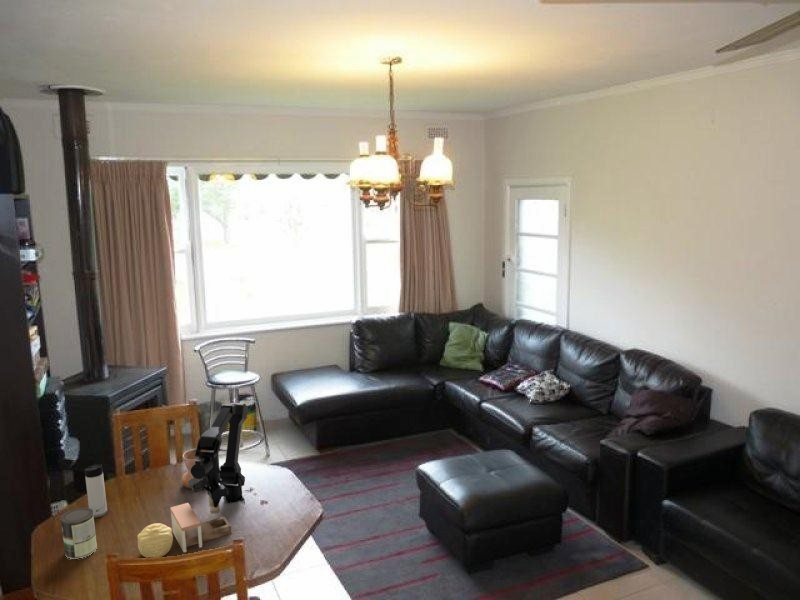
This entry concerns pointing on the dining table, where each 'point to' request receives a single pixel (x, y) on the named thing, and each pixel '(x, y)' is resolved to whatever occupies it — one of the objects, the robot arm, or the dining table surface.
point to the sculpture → (155, 540)
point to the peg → (212, 508)
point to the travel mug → (96, 490)
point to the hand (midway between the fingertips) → (214, 505)
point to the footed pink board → (184, 523)
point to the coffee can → (78, 533)
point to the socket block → (208, 531)
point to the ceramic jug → (189, 465)
